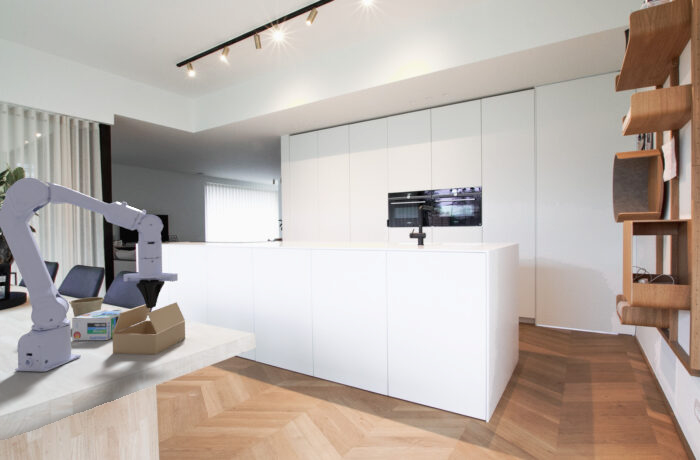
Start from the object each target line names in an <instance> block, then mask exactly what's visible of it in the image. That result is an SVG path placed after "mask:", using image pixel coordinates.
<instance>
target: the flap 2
mask: <svg viewBox="0 0 700 460" xmlns="http://www.w3.org/2000/svg"><path fill="white" fill-rule="evenodd" d="M147 314H148V316H147V317H148V318H149V321H151V323H152V325H153V327H154V329H155V331H156V334H157V333H159V332H161V331H164V330H166V329H168V328H170V327H172V326H174V325H176V324H178V323H180V322H183V321H185V318H184V315H183V313H182V311H181V308H180V306H179V304H178V302H174V303H171V304H168V305H165V306H163V307H159V308H158V309H155V310H152V311H151V310H150V311H149V313H147ZM185 322H186V321H185Z"/></svg>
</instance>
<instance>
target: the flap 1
mask: <svg viewBox="0 0 700 460" xmlns="http://www.w3.org/2000/svg"><path fill="white" fill-rule="evenodd" d="M151 309H152V308H147V307H146V304H143V305H139V306H136V307H132V308H129V309H126V310H127V311H124V312H121V313H120V316H119V318H118V320H117V323H116V325H115V328H114V330H113V333H115V332H117V331H120V330H122V329H125V328H128V327H131V326H134V325H136V324H139V323H141V322H144V321H146V320H147V318H148V317H149V316H148V314H147V313H149V312H151Z"/></svg>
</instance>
